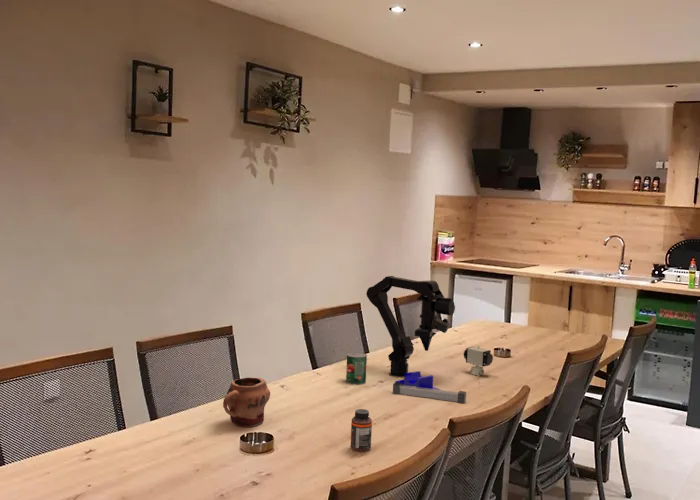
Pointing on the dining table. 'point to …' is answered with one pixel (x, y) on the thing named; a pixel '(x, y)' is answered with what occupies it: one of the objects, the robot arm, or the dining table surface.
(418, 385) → the mounting bracket
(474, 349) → the pneumatic valve
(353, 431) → the supplement bottle
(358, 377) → the canned tomato
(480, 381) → the dining table surface
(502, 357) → the dining table surface
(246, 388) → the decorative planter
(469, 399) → the dining table surface
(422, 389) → the rail
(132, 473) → the dining table surface
